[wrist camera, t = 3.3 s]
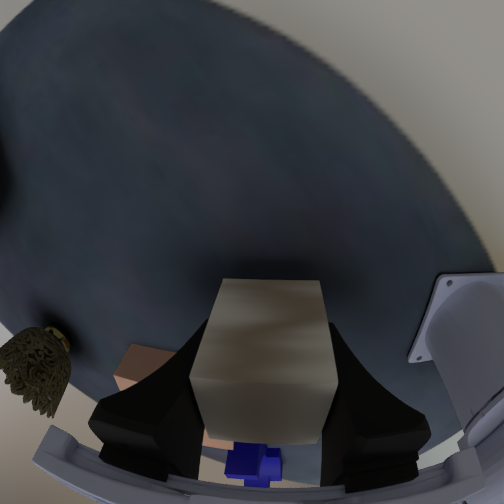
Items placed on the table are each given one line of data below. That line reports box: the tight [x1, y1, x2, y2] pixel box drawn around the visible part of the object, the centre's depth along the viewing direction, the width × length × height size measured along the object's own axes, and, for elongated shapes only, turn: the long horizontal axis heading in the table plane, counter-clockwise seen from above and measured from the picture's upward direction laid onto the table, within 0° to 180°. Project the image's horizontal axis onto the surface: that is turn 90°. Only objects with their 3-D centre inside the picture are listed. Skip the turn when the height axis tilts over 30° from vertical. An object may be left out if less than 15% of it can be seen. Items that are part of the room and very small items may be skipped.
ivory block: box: [189, 278, 338, 444], centre depth 11 cm, size 4×4×6 cm
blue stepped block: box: [224, 442, 283, 488], centre depth 24 cm, size 12×4×6 cm, turn 8°
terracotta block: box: [113, 343, 234, 450], centre depth 20 cm, size 9×9×4 cm
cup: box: [0, 323, 73, 418], centre depth 18 cm, size 8×7×8 cm
